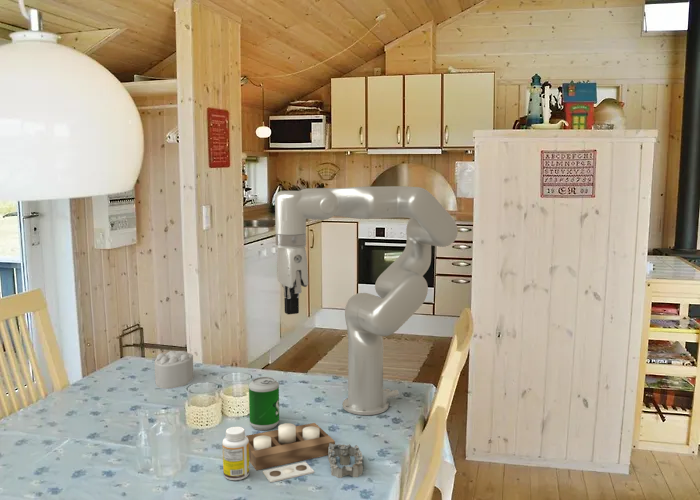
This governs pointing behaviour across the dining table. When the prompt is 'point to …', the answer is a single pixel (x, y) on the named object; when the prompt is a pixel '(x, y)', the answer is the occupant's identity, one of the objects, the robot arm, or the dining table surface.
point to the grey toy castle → (345, 460)
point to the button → (311, 433)
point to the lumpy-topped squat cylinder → (173, 369)
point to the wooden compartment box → (288, 449)
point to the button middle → (287, 433)
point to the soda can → (264, 403)
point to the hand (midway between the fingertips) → (291, 313)
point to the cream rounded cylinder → (262, 442)
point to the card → (288, 472)
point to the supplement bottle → (235, 454)
